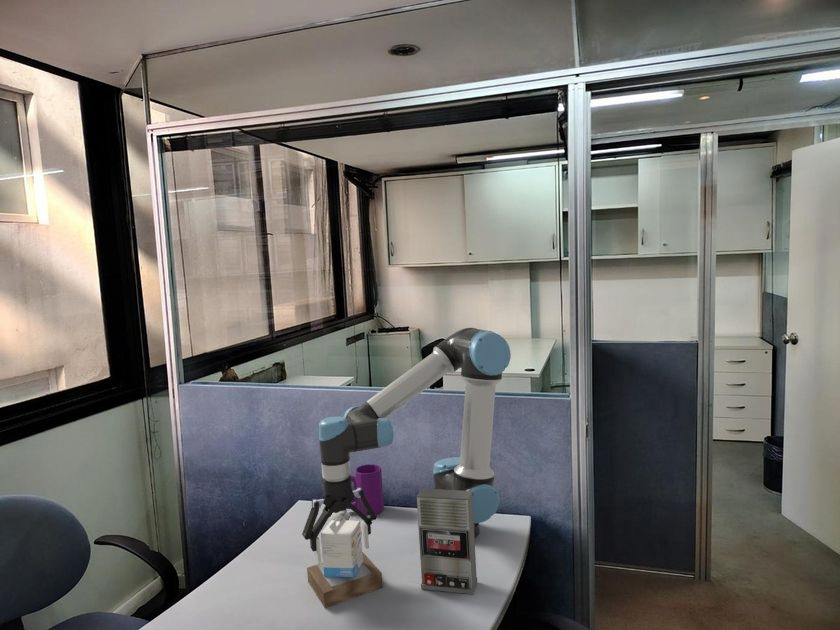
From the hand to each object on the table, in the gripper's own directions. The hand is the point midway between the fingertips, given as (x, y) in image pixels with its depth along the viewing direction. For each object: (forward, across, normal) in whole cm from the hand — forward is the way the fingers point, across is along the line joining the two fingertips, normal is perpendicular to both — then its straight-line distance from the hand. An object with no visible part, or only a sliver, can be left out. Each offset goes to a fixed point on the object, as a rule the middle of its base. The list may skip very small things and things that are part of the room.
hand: (342, 553), depth 150 cm
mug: (+9, -21, -39) cm, 45 cm away
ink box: (+4, 0, 0) cm, 4 cm away
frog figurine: (+9, -10, -30) cm, 33 cm away
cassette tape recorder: (+9, -23, +16) cm, 29 cm away
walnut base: (+9, 0, 0) cm, 9 cm away
